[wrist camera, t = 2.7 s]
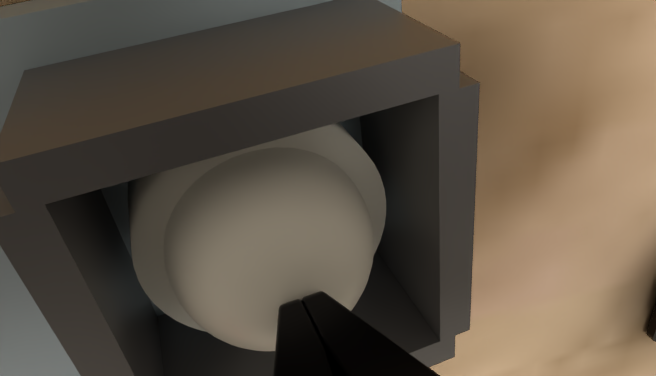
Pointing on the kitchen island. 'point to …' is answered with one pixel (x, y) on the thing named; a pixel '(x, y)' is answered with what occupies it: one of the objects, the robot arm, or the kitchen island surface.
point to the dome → (258, 232)
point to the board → (71, 43)
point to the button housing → (232, 135)
